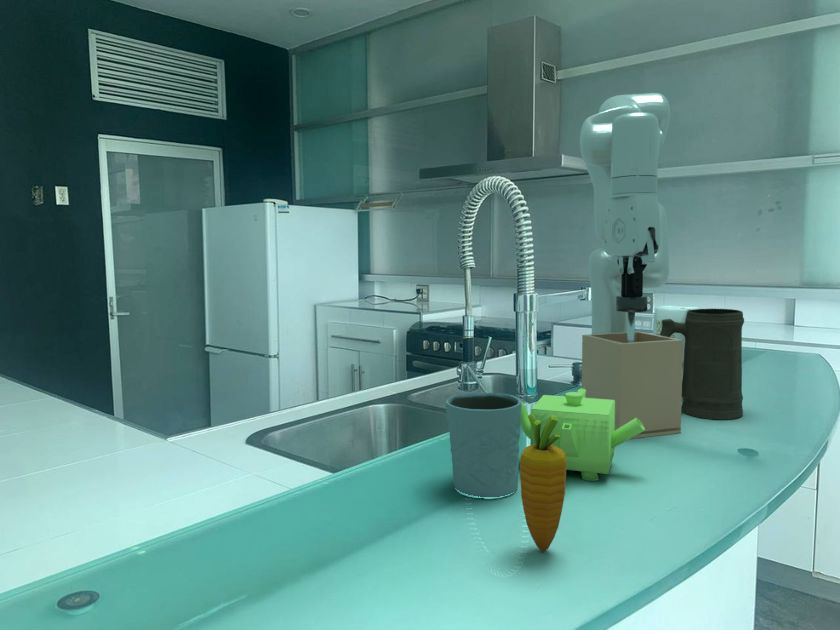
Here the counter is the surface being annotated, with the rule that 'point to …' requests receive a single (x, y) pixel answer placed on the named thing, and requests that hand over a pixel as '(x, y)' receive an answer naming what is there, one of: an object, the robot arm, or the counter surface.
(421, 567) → the counter surface
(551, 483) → the carrot
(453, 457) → the gray cup
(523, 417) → the kettle
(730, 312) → the beer stein
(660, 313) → the juice carton
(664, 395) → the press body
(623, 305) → the plunger
